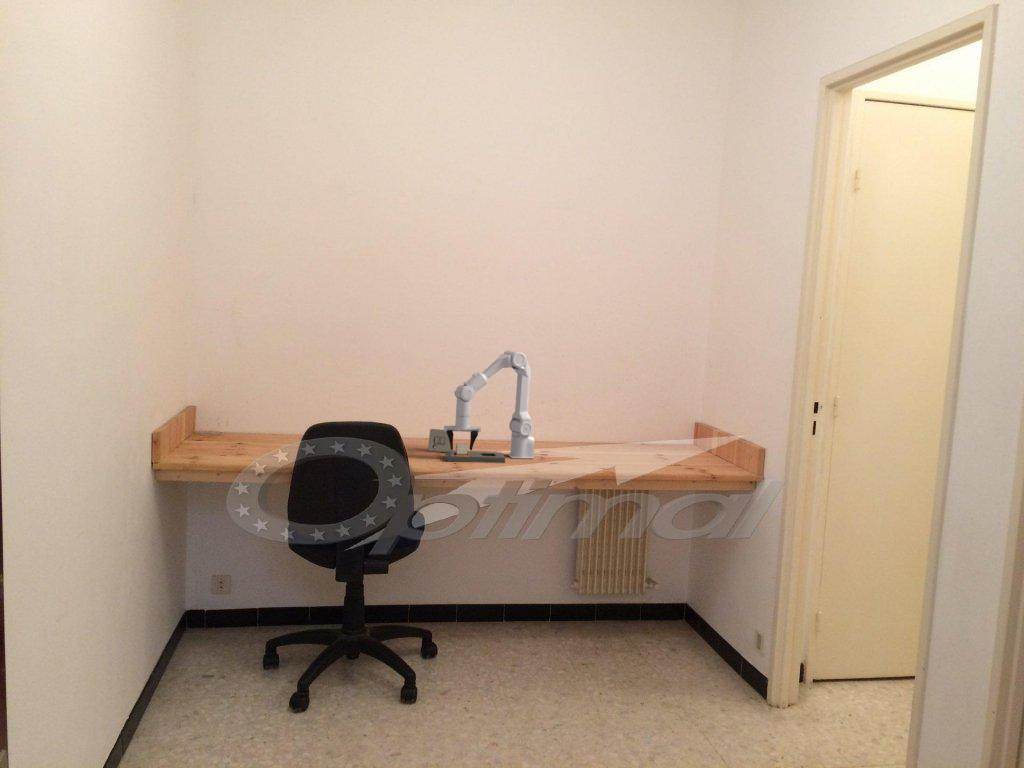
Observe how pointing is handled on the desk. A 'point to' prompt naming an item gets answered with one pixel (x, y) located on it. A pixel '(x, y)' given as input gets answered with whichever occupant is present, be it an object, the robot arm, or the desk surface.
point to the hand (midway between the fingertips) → (461, 449)
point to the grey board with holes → (475, 457)
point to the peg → (461, 449)
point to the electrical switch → (438, 441)
